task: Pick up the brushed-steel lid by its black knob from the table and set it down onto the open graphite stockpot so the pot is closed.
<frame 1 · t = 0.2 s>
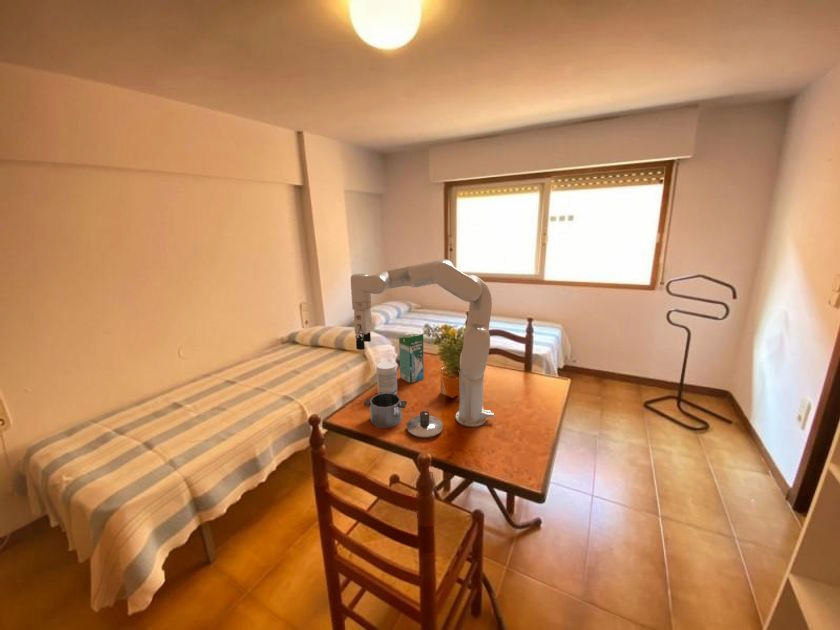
hand: (363, 345, 140), 31 cm above the table, fingers open, 9 cm apart
supplement box: (449, 395, 162), on the table
milk carton: (411, 378, 180), on the table
supplement tub: (387, 393, 164), on the table
lid: (424, 429, 134), on the table
stockpot: (386, 419, 141), on the table
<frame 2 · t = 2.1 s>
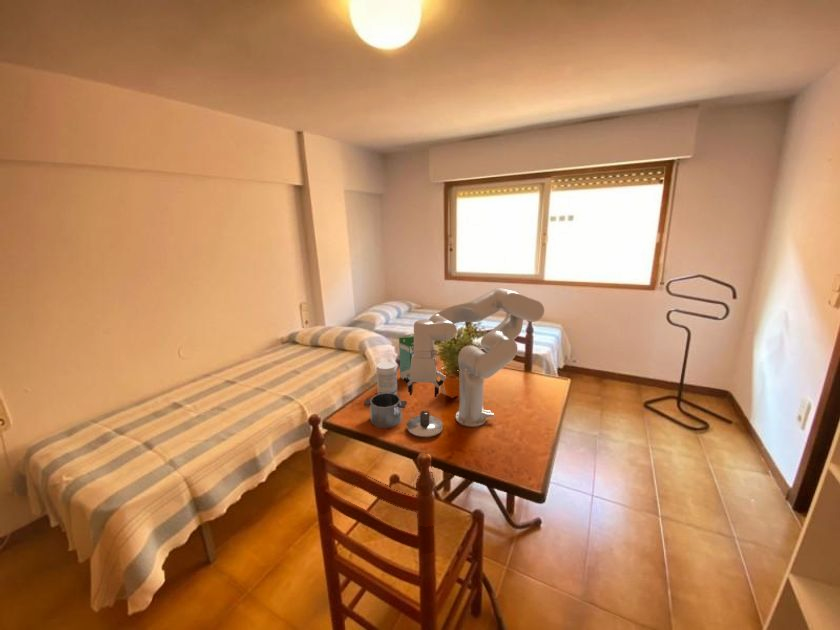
hand: (423, 394, 130), 15 cm above the table, fingers open, 9 cm apart
nothing on the table moved.
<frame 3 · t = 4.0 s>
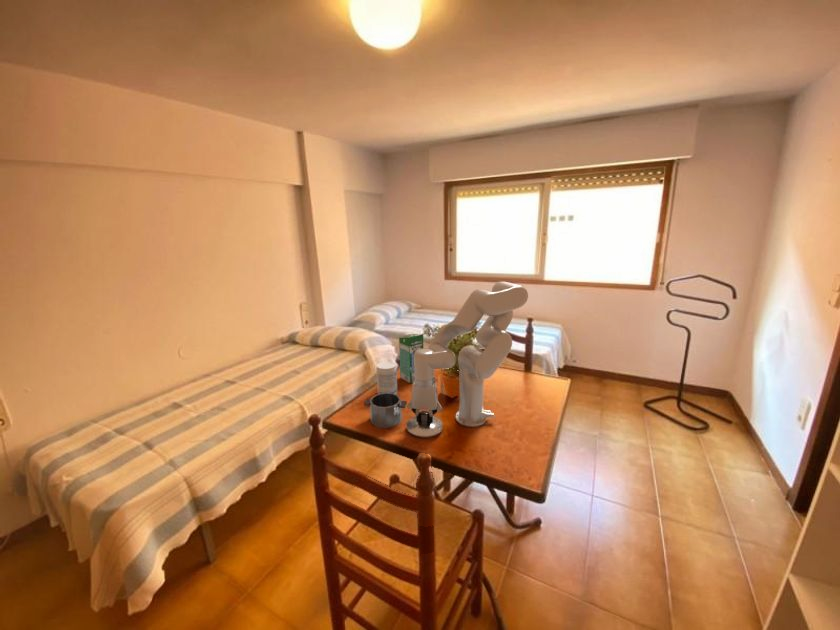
hand: (424, 423, 133), 3 cm above the table, fingers closed on lid, 3 cm apart
lid: (424, 429, 134), on the table, touching gripper
everything else where it was.
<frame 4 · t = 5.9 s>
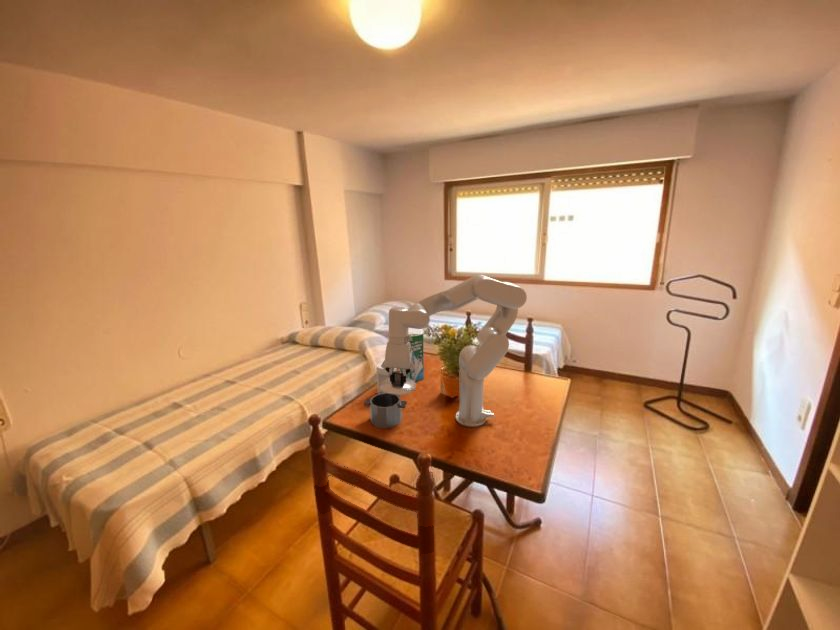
hand: (398, 383, 134), 18 cm above the table, fingers closed on lid, 3 cm apart
lid: (398, 389, 134), point 15 cm above the table, touching gripper
everything else where it was.
when the fingers open (11 cm above the table, at t = 8.1 s): lid stays where it is, resting on stockpot.
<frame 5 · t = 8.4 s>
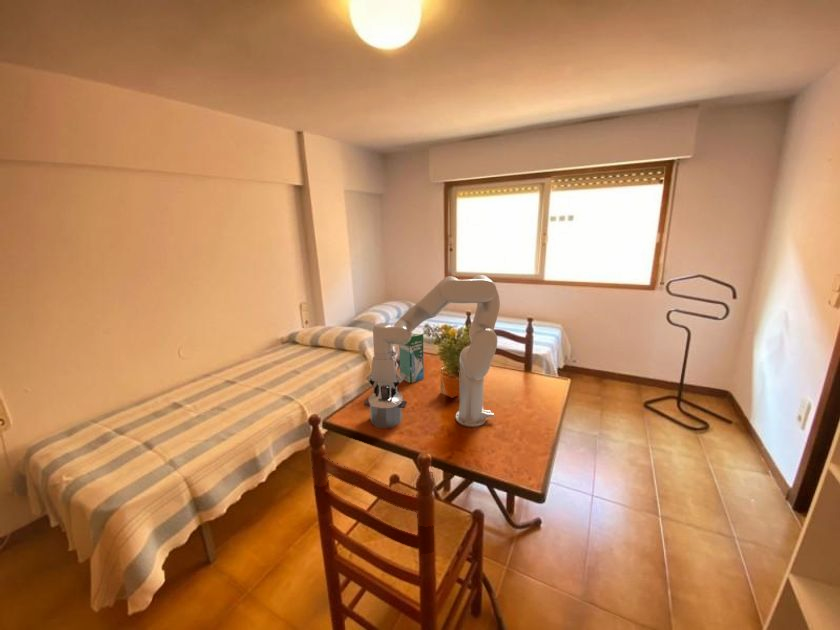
hand: (385, 395, 139), 11 cm above the table, fingers open, 6 cm apart
lid: (385, 402, 139), point 8 cm above the table, touching stockpot
everything else where it was.
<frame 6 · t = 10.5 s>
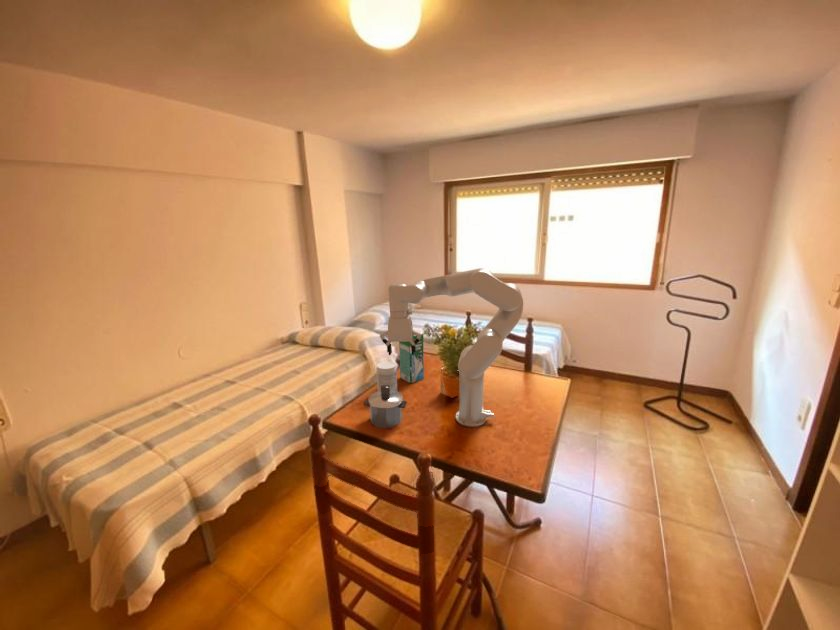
hand: (401, 353, 141), 27 cm above the table, fingers open, 9 cm apart
nothing on the table moved.
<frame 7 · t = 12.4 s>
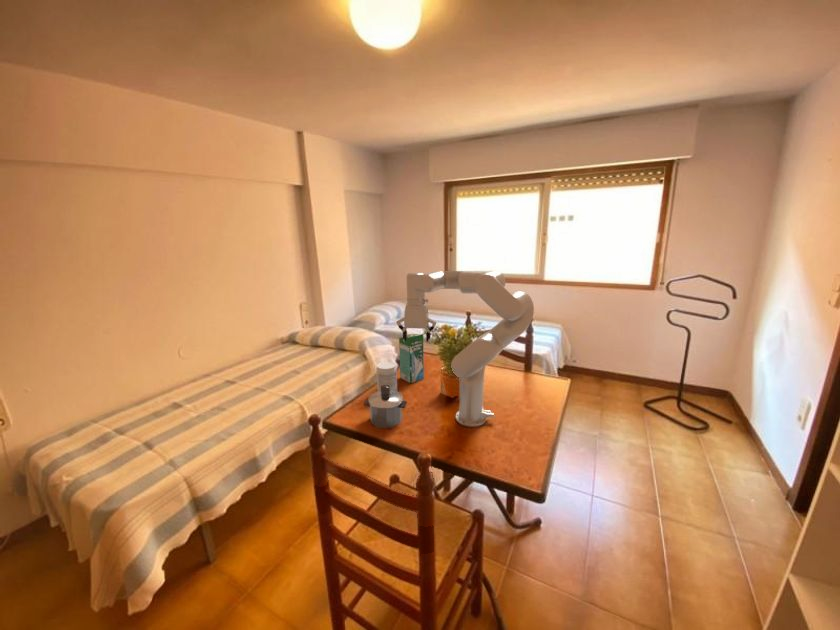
hand: (416, 340, 147), 30 cm above the table, fingers open, 9 cm apart
nothing on the table moved.
at the end: lid 0.1 cm off-centre on the stockpot, point 7.8 cm above the stockpot's base; lid tilted 0°; the gripper is holding nothing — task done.
